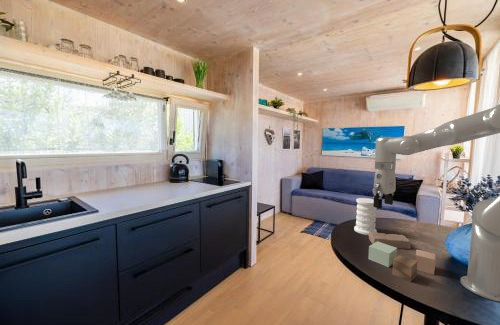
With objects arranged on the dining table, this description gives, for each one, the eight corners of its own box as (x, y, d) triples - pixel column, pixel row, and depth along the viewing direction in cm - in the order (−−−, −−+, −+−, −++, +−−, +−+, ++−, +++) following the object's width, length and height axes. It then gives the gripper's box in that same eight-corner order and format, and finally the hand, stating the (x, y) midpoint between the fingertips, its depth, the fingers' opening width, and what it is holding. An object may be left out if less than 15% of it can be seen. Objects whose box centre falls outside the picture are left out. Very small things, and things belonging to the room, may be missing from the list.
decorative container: (349, 229, 130) (351, 199, 128) (362, 225, 135) (363, 197, 133) (368, 236, 119) (370, 204, 118) (381, 232, 125) (383, 201, 123)
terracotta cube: (433, 267, 90) (434, 253, 89) (434, 274, 85) (435, 259, 85) (415, 262, 94) (416, 249, 93) (414, 269, 89) (415, 254, 89)
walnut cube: (416, 276, 84) (417, 261, 84) (410, 282, 81) (411, 266, 80) (398, 269, 89) (399, 254, 88) (392, 274, 85) (393, 259, 85)
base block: (396, 261, 95) (397, 247, 94) (388, 267, 90) (389, 253, 90) (376, 253, 101) (377, 241, 101) (368, 259, 97) (369, 246, 96)
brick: (402, 242, 114) (403, 233, 113) (411, 250, 105) (411, 240, 105) (367, 239, 117) (368, 231, 116) (373, 247, 108) (374, 237, 108)
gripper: (384, 168, 86) (382, 211, 87) (403, 165, 96) (401, 204, 97) (365, 166, 92) (363, 207, 93) (385, 164, 102) (383, 201, 103)
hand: (383, 205), depth 95 cm, fingers open, 9 cm apart
